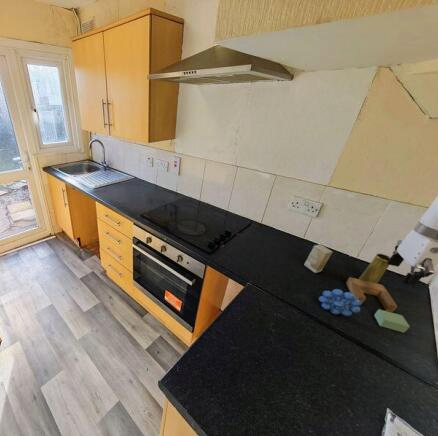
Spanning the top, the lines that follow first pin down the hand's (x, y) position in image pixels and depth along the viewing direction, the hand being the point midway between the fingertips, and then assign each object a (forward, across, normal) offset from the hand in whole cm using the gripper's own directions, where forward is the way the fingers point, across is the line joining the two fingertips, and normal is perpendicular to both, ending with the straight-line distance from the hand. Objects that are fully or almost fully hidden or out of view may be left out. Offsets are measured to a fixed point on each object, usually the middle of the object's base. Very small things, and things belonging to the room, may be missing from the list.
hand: (399, 273), depth 76 cm
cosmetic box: (+22, +23, +14) cm, 35 cm away
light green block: (+22, -1, -7) cm, 23 cm away
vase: (+22, +23, -8) cm, 33 cm away
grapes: (+22, -3, +11) cm, 25 cm away
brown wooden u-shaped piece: (+22, +12, -4) cm, 25 cm away
